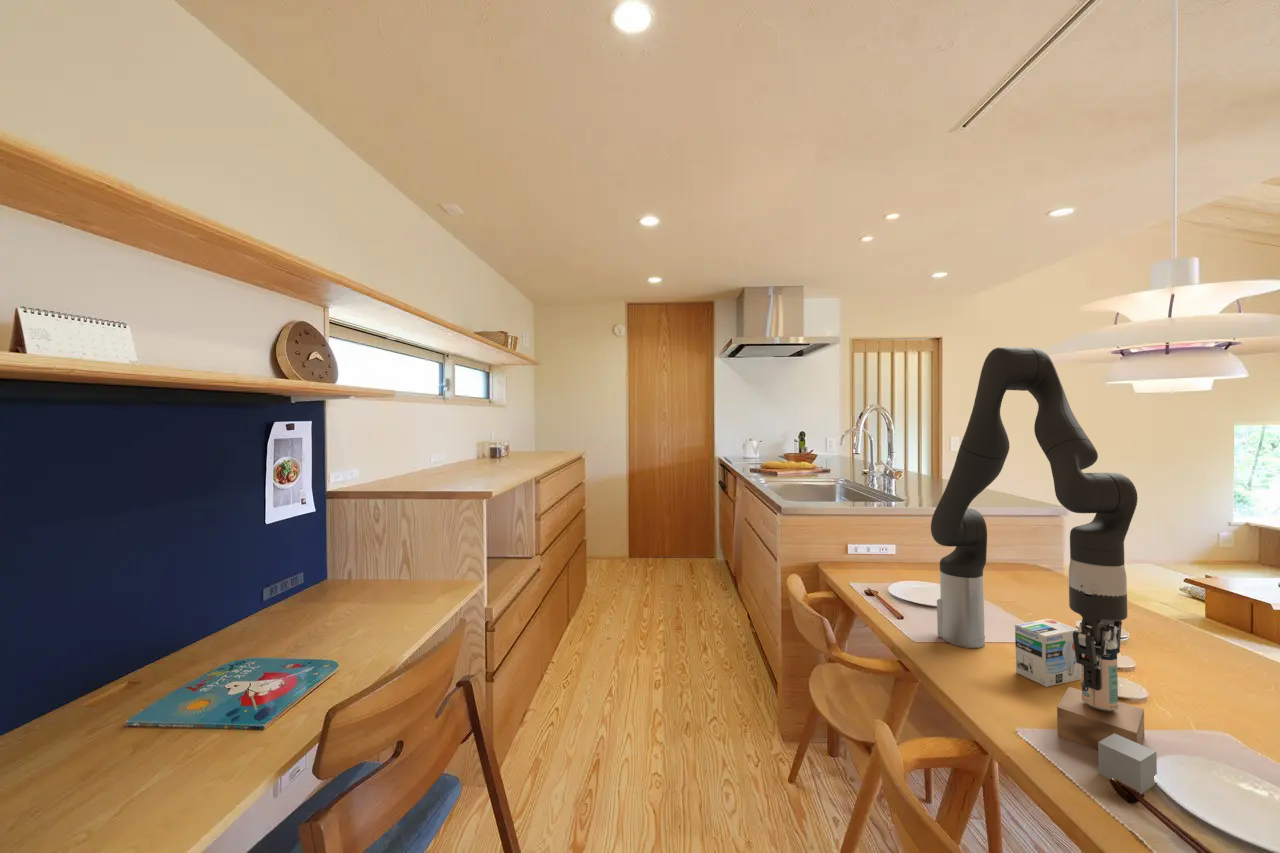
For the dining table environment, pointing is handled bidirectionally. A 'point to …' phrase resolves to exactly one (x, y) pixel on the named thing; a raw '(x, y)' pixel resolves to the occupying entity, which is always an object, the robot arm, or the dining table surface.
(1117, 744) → the slate block
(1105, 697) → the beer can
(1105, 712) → the walnut block
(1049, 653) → the light bulb box
